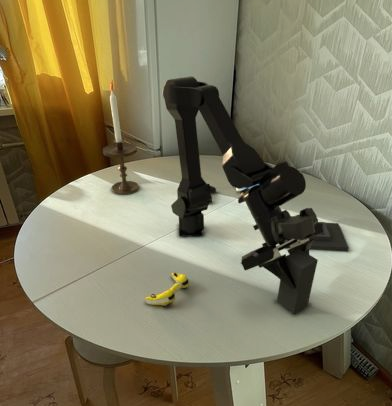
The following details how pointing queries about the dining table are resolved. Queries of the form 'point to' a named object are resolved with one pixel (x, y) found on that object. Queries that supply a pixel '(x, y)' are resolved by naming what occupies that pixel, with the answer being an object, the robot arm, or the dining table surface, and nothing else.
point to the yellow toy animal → (169, 291)
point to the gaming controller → (212, 191)
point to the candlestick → (120, 152)
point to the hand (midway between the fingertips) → (302, 283)
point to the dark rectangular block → (298, 281)
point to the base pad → (329, 238)
